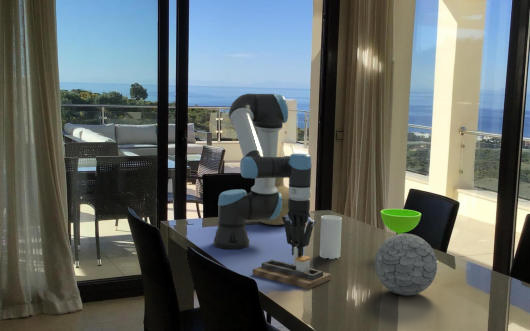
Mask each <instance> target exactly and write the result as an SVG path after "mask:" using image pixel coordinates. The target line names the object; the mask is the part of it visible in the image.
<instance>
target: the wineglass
mask: <svg viewBox="0 0 530 331" xmlns="http://www.w3.org/2000/svg"><path fill="white" fill-rule="evenodd" d="M380 216H381V220H382V223H383V224H384V225H385V227H387V229H389V230H390V231H393V232H395V233H396V235H397V234H405V233H407V232H410V231H412V230H413V229H415V228H416V227H417V226H418V225H419V223H420V221H421V217H422V213H421V212H419V211H416V210H412V209H405V208H404V209H403V208H386V209H381V210H380Z"/></svg>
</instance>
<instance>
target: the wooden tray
mask: <svg viewBox="0 0 530 331" xmlns="http://www.w3.org/2000/svg"><path fill="white" fill-rule="evenodd" d="M252 276H256V277H259V278H262V279H268V280H272V281H275V282H278V283H283V284H286V285H291V286H294V287H298V288H303V289H306V290H311V289H313V288H315V287H317V286H319V285H322V284H324V282H325V283H327V282H329V281H331V280H332V274H331V273H329V272H324V271H322V270H318V269H316V268H310V274H309V273H306V272H301V271H298V270H296V266H294V265H293V263H292V264H291V263H290V262H284V261H280V260H276V259H270V260H268V261H265V262H261V266H259V267H255V268H253V269H252ZM328 280H329V281H328ZM326 281H327V282H326Z"/></svg>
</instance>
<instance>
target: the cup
mask: <svg viewBox="0 0 530 331" xmlns="http://www.w3.org/2000/svg"><path fill="white" fill-rule="evenodd" d="M342 218H343V217H342V216H340V215H333V214H331V215H330V214H327V215H326V214H325V215H322V216H321V217H320V237H319V238H320V239H319V240H320V242H319V257H321V258H322V259H326V258H329V259H328V260H336V259H335V258H337V259H340V258H341V247H342V246H341V245H342V226H343V224H342V223H343V219H342ZM339 257H340V258H339Z"/></svg>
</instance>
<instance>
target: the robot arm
mask: <svg viewBox="0 0 530 331" xmlns="http://www.w3.org/2000/svg"><path fill="white" fill-rule="evenodd" d="M288 118H289V108H288V103H287V100H286V98H285V96H283V95H282V94H275V93H244V94H242V95H240V96H238V97H237V98H235V99H234V101H233V102H232V103H231V105H230V108H229V111H228V119H229V123H230V124H231V125H232V127H234V130H235V134H236V137H237V139H238V144H239V147H240V150H241V154H242V157H241V159H240V164H239V170H240V175H241V177H242V178H244V179H254V185H253V186H251V187H250V192H247V191H246V190H245V189H241V188H240V189H238V188H237V189H229V190H225V191H222V192H221V193H220V194H219V196H218V202H217V205H218V208H217V210H218V214H217V216H218V217H217V218H218V219H217V221H218V222H217V230H216V233H215V234H214V238H213V246H214V247H216V248H219V249H227V250H230V249H231V250H239V249H245V248H247V247H249V246H250V238H249V235H248V231H247V228H246V222H247V221H260V220H269V219H276V218H277V217H278V216H279V214H280V212H281V207H282V196H281V194H280V193H279V192H278V189H277V188H276V187H275V178H284V179H288V188H289V198H290V199H289V200H288V209H289V211H288V214H287V215H286V216H283V217H282V220H283V222H284V224H283V226H284V230H285V237H286V242H287V243H286V244H288V245H291V255H292V256H293V258H292V259H293V261H292V262H293V263H292V264H293V265H294V266H296V260H295V258H297V257H301V256H303V255H304V247H308V246H309V243H310V240H311V236H312V233H313V229H314V226H315V224H316V219H312V218H311V215H310V210H311V200H310V198H311V184H312V183H311V182H312V181H311V180H312V179H311V178H312V167H313V166H312V157H311V154H308V153H291V154H290V155H284V156H278V143H279V132H280V130H282V129H283V124H285V123H287V122H288ZM306 224H307V225H306Z"/></svg>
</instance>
